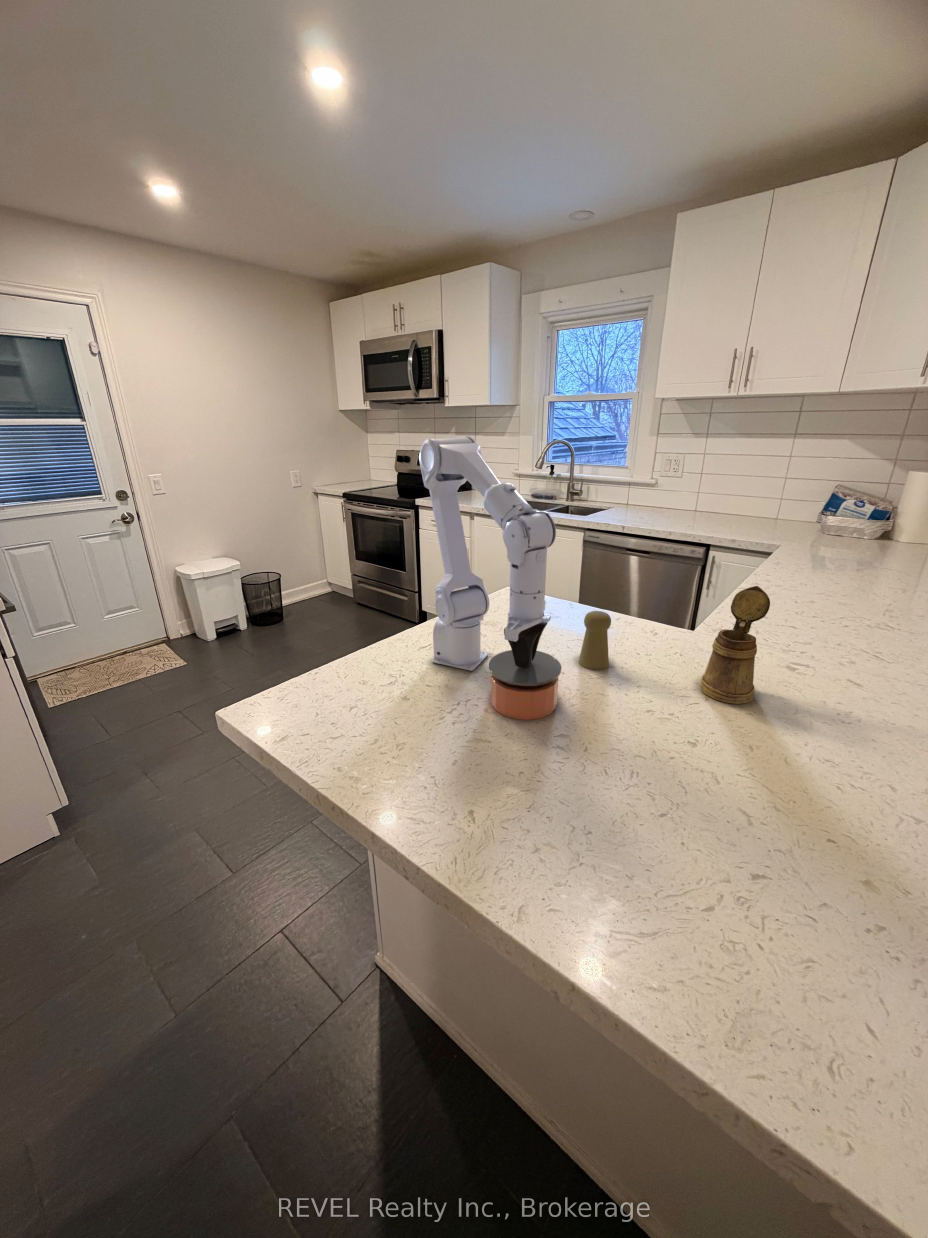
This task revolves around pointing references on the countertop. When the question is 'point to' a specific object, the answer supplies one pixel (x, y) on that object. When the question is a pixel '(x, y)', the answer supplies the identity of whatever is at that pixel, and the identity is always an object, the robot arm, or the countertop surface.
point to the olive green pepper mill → (595, 641)
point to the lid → (525, 669)
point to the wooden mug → (736, 651)
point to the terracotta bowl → (524, 699)
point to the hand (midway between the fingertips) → (524, 662)
